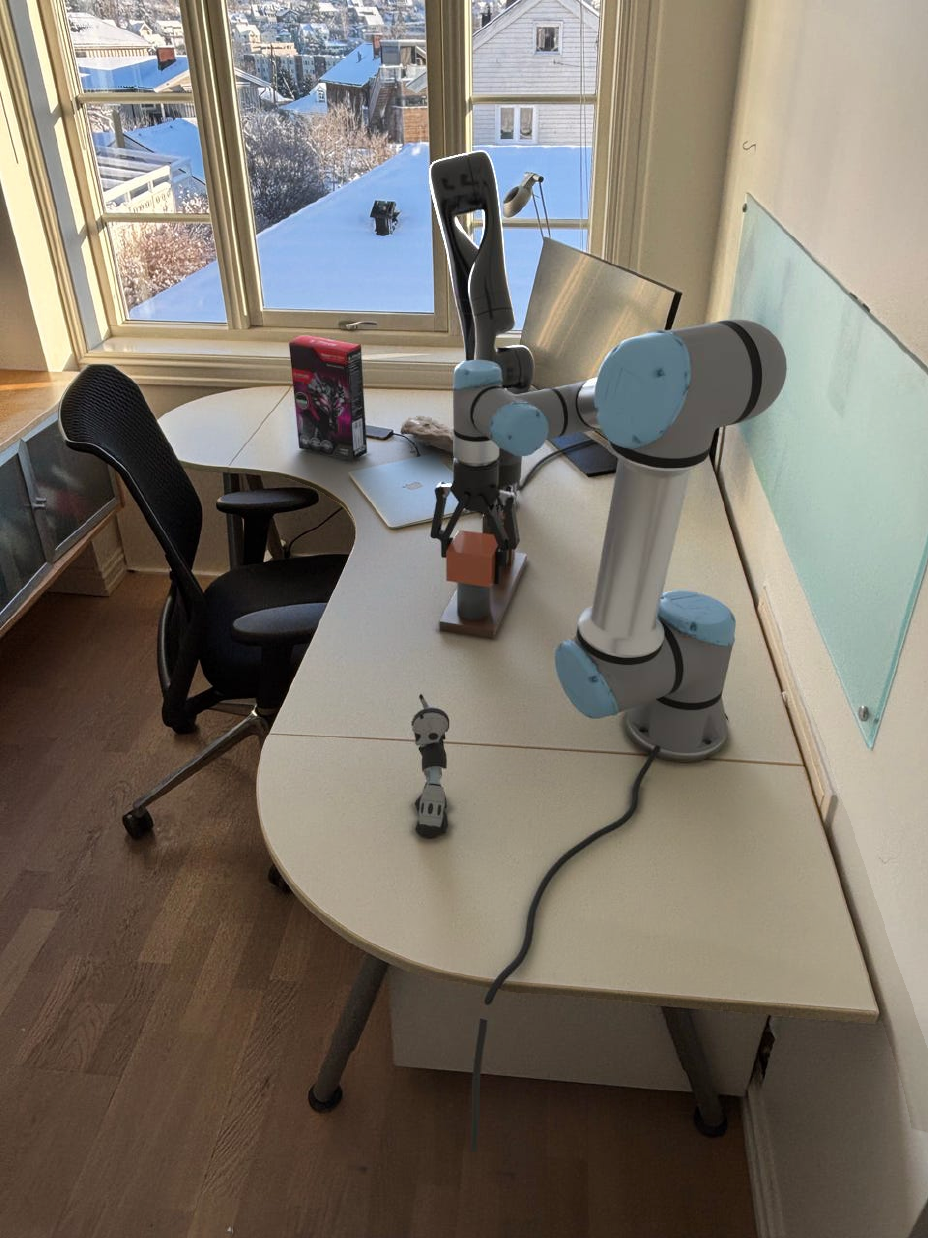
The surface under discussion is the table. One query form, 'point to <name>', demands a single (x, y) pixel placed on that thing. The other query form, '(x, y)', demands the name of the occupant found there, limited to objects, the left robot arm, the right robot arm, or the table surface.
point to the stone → (429, 432)
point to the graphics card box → (329, 396)
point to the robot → (431, 769)
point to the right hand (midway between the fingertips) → (474, 576)
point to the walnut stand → (483, 599)
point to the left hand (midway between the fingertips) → (498, 537)
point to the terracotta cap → (471, 558)
